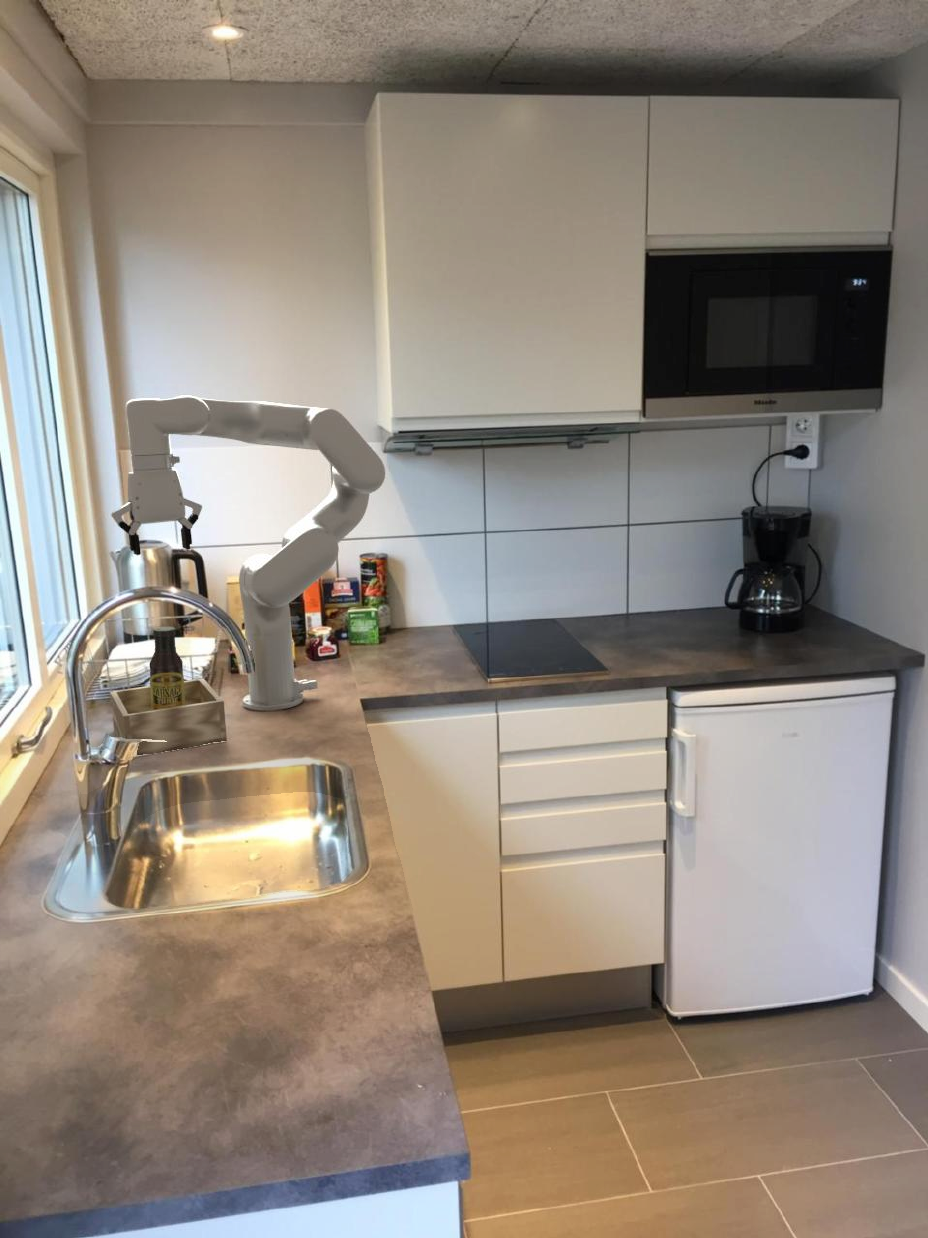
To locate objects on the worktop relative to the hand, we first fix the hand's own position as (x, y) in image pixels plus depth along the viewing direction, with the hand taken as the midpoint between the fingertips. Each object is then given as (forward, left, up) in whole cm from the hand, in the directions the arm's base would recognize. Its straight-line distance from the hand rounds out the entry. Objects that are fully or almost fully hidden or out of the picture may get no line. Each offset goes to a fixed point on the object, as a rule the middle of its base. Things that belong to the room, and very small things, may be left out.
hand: (162, 551), depth 199 cm
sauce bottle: (+3, +12, -33) cm, 35 cm away
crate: (+4, +12, -34) cm, 36 cm away
